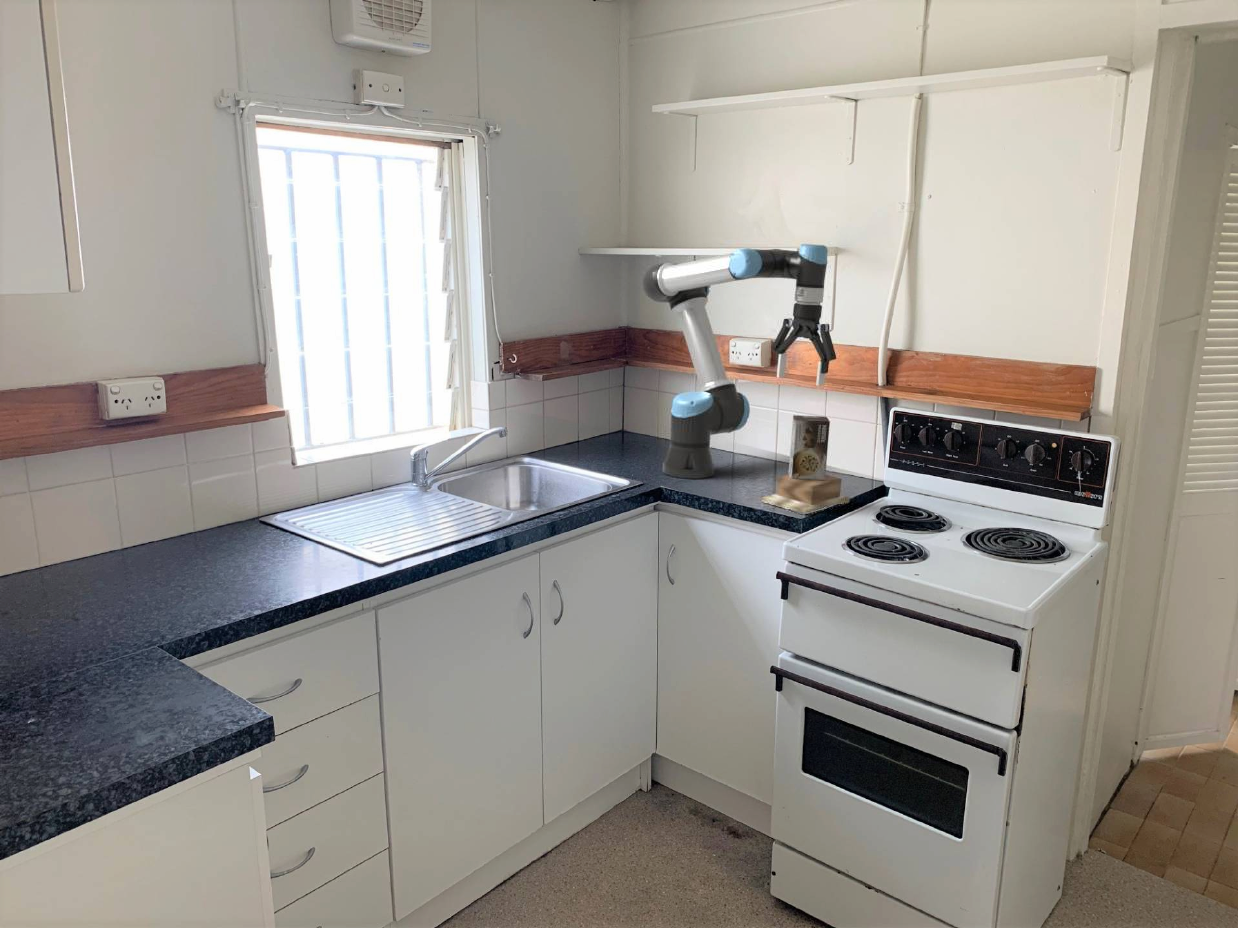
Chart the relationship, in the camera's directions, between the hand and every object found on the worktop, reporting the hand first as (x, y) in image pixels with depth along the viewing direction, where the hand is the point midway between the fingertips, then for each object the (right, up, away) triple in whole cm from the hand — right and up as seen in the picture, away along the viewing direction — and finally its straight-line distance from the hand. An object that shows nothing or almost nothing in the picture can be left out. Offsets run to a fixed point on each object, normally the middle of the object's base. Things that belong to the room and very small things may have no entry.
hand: (800, 381), depth 253 cm
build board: (0, -33, -7) cm, 34 cm away
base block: (+1, -31, -7) cm, 32 cm away
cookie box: (0, -26, -7) cm, 28 cm away
